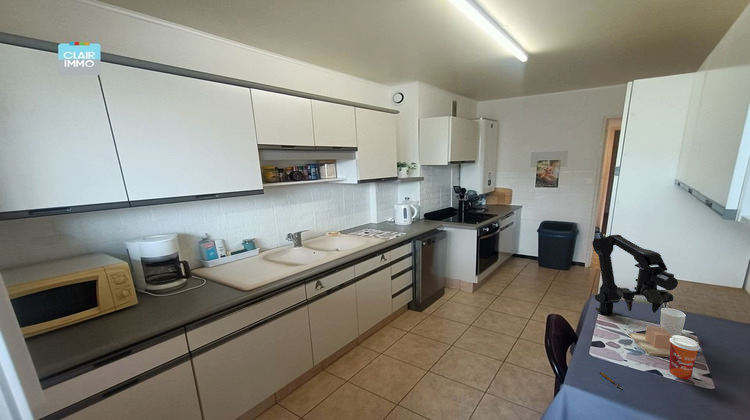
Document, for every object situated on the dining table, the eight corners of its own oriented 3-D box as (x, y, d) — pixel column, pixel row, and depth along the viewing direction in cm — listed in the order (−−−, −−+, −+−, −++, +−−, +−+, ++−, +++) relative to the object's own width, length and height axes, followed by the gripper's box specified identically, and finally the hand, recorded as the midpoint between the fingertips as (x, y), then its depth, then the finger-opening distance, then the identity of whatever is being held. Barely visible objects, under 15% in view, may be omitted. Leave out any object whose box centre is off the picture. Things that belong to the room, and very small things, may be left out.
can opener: (599, 374, 113) (599, 371, 113) (604, 373, 113) (605, 371, 113) (620, 392, 104) (620, 389, 104) (626, 392, 104) (626, 389, 104)
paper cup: (670, 377, 109) (674, 344, 106) (662, 364, 115) (666, 332, 113) (699, 384, 105) (705, 349, 103) (689, 370, 112) (694, 337, 109)
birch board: (628, 335, 134) (629, 332, 134) (665, 337, 131) (665, 335, 131) (649, 355, 121) (649, 352, 120) (690, 358, 118) (691, 356, 117)
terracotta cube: (645, 338, 129) (646, 326, 128) (661, 340, 128) (662, 327, 127) (654, 347, 123) (656, 334, 122) (671, 348, 122) (673, 335, 121)
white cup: (688, 337, 131) (691, 316, 129) (669, 337, 131) (672, 317, 129) (670, 327, 138) (673, 307, 137) (653, 327, 139) (656, 308, 137)
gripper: (632, 286, 124) (628, 320, 127) (686, 289, 120) (680, 323, 123) (617, 275, 134) (613, 306, 138) (666, 277, 130) (661, 309, 133)
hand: (641, 311), depth 133 cm, fingers open, 9 cm apart
